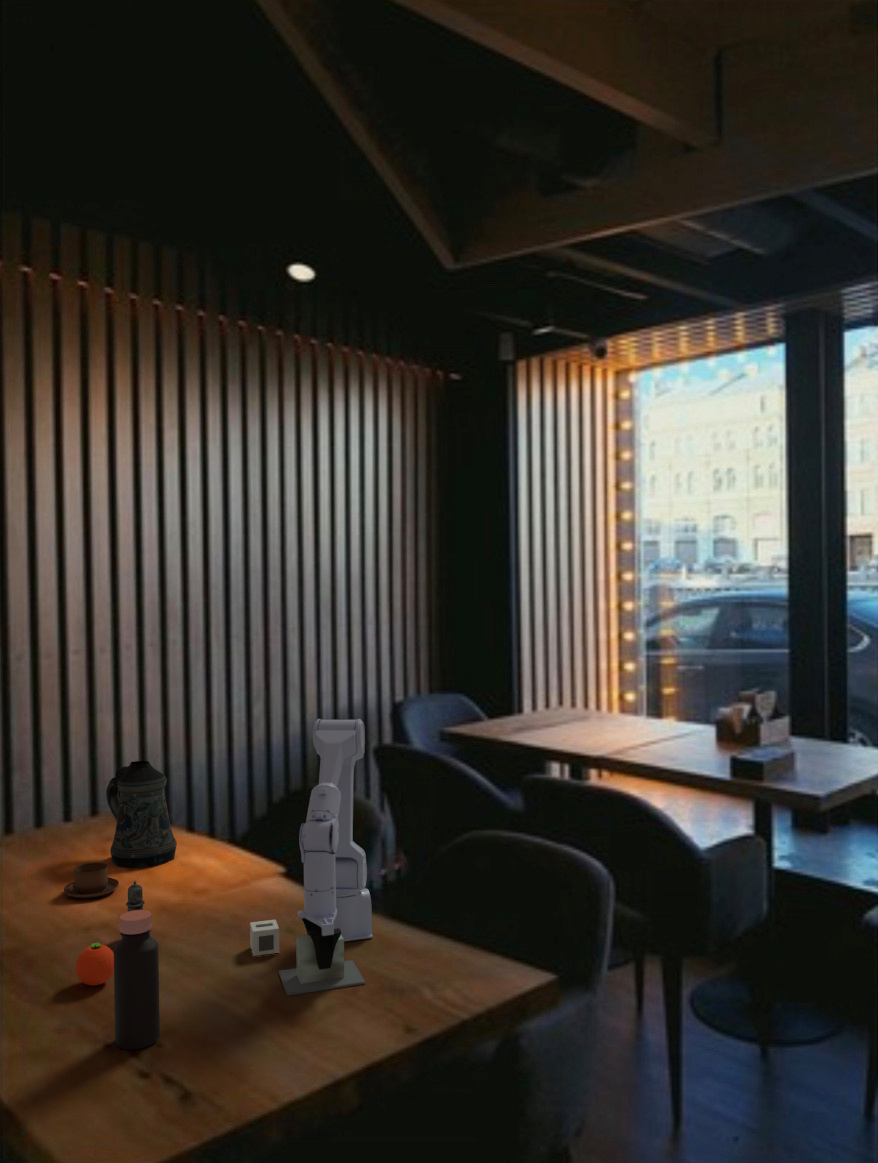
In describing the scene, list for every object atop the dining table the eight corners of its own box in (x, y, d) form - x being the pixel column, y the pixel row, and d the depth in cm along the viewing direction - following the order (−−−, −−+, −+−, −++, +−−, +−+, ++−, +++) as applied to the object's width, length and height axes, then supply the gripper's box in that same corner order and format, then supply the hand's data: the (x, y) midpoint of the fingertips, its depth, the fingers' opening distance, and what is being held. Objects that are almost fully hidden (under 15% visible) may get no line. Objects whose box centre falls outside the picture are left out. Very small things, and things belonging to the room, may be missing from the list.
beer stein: (166, 868, 240) (164, 769, 239) (89, 869, 240) (87, 770, 240) (184, 849, 256) (183, 756, 256) (112, 849, 256) (110, 757, 256)
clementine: (74, 977, 176) (74, 939, 176) (114, 970, 178) (113, 933, 178) (76, 995, 168) (76, 955, 168) (118, 988, 171) (117, 948, 171)
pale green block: (339, 968, 177) (339, 931, 177) (344, 977, 173) (343, 939, 173) (296, 974, 175) (296, 936, 174) (300, 983, 171) (299, 944, 171)
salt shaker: (141, 946, 190) (140, 885, 190) (114, 944, 191) (114, 884, 191) (156, 934, 196) (155, 876, 196) (130, 933, 197) (129, 875, 197)
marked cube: (275, 944, 190) (275, 918, 190) (279, 954, 185) (279, 928, 185) (250, 947, 189) (250, 921, 189) (253, 957, 184) (253, 931, 184)
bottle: (135, 1055, 147) (132, 926, 147) (105, 1044, 151) (103, 918, 150) (169, 1036, 153) (167, 912, 153) (140, 1026, 156) (138, 904, 156)
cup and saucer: (52, 899, 219) (51, 872, 219) (89, 882, 230) (89, 857, 230) (93, 905, 214) (93, 877, 214) (129, 888, 225) (129, 862, 225)
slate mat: (352, 962, 181) (352, 960, 181) (365, 983, 171) (365, 981, 171) (278, 972, 177) (278, 970, 177) (287, 995, 167) (287, 993, 167)
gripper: (291, 876, 179) (292, 948, 180) (305, 902, 166) (306, 980, 166) (328, 872, 182) (329, 943, 182) (344, 897, 168) (346, 974, 168)
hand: (320, 960), depth 174 cm, fingers open, 6 cm apart
